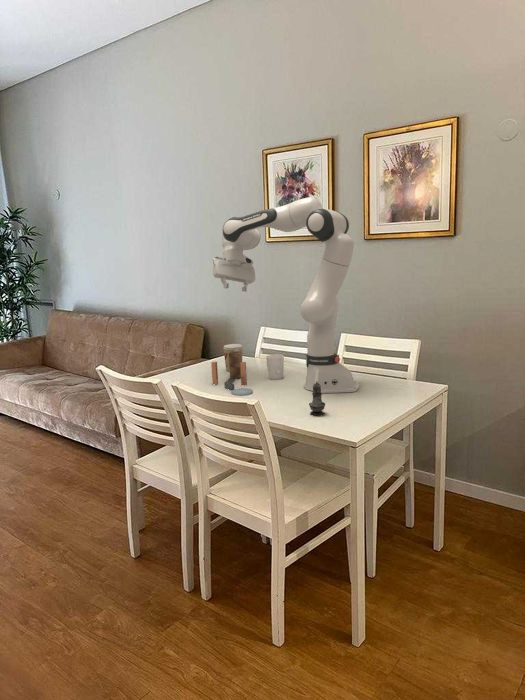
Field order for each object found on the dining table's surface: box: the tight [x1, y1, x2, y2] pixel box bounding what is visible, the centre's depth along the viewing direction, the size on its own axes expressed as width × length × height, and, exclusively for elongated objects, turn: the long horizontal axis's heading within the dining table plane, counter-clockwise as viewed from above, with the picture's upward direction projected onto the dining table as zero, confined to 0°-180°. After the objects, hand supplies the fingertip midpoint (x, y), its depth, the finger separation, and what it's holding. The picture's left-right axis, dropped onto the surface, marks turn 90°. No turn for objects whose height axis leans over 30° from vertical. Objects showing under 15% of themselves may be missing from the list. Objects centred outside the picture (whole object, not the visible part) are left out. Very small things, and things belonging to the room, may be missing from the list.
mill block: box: [229, 349, 243, 380], centre depth 237 cm, size 5×5×13 cm
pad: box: [230, 387, 254, 397], centre depth 215 cm, size 9×9×1 cm
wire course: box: [210, 361, 248, 391], centre depth 225 cm, size 15×15×10 cm
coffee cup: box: [223, 343, 244, 372], centre depth 252 cm, size 9×9×12 cm
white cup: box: [265, 353, 285, 380], centre depth 235 cm, size 8×8×10 cm
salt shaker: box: [308, 381, 326, 417], centre depth 184 cm, size 6×6×12 cm
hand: (235, 289), depth 227 cm, fingers open, 8 cm apart
